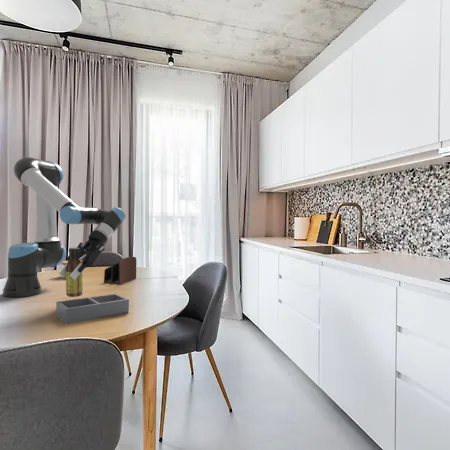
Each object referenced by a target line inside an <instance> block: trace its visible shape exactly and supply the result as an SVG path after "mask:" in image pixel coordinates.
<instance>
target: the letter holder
mask: <svg viewBox="0 0 450 450" xmlns="http://www.w3.org/2000/svg"><path fill="white" fill-rule="evenodd" d="M135 279H137V257H136V256H127V257H124V258H122V259H120V260H119V261H118V262H116V263H114V264H113V265H112V266H109V267H106V268H105V269H104V274H103V284H110V285H122V284H124V283H127V282H130V281H133V280H135Z"/></svg>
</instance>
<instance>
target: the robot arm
mask: <svg viewBox="0 0 450 450" xmlns="http://www.w3.org/2000/svg"><path fill="white" fill-rule="evenodd" d="M13 174H14V176H15V178H16V179H17V180H18V181H19V182H20V183H22V184H23V185H24V186H26V187H29V188H31V189H32V190H33V191H34V192H35V194H36V195H35V196H36V197H35V198H36V199H35V201H36V223H37V224H36V227H37V237H36V239H35V240H34V242H22V243H20V242H19V243H16V244H12V245H10V246H9V248H8V253H7V279H6V282H5V285H4V287H3V289H2V296H3V297H7V298H21V297H22V298H23V297H31V296H35V295H38V294H41V293H42V286H41V284H40V283H41V282H40V281H39V277H38V270H40V269H47V268H54V267H57V266H60V265H62V262H63V261H65V260H66V261H69V255H68V256H67V250H66V248H65V246H64V244H62V243H61V239H60V238H59V237H58V231H57V212H58V213H59V218H60V220H61V222H63V223H64V224H66V225H67V224H68V225H97V226H96V227H95V228H94V229H93V230H92V231H91V232H90V234H89V235H88V240H87V241H85V243H83V242H79V243H78V246H77V247H76V248H80V251H79V259H80V261H81V262H82V263H83V264H82V263H80V264H79V265H78V266H77V267H76V268H75V270H74V271H73V272H72V273H71V275H70V277H71V278H72V279H73V280H75V279H76V278H77V277H78V275H79V274H80V273H81V272H82V271H83V272H84V270H85V269H86V268H87V267H92V266H93V264H94V263H95V262H96V260H97V259H98V258H99V256H100V255H101V254H102V252H103V251H104V250H105V247H104V245H106V243H107V242H108V240H109V239H110V238H111V237H112V235H113V234H114V233H115V232H116V230H117V229H118V228H119V227H120V226H121V225H122V224H123V222H124V221H125V219H126V214H125V211H124V210H123V209H122V208H120V207H117V206H116V207H115V206H114V207H112V208H111V209H110V210H108V209H107V210H105V209H102V208H98V207H95V206H85V207H82V206H79V205H78V204H77V203H75V202H74V201H73V200H72V199H71V198H69V197H68V196H67V195H66V194H65V193H63V192H62V191H61V190H60V188H59V185H60V184H61V183H62V181H63V179H64V172H63V170H62V168H61V166H60V165H59V164H57V163H55V162H52V161H51V160H50V161H49V160H43V159H39V158H34V157H30V156H29V157H22V158H19V159H18V160H17V161H16V163H15V164H14V166H13ZM82 257H83V258H84V259H83V260H81V258H82ZM66 267H67V264H66V265H65V266H64V268H63V269H62V268H61V269H60V271H59V272H58V275H59V276H60V277H61V278H66Z"/></svg>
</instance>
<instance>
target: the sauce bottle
mask: <svg viewBox="0 0 450 450" xmlns="http://www.w3.org/2000/svg"><path fill="white" fill-rule="evenodd" d="M79 251H80V248H77V247H69V248H68V252H69V255H68V256H69V261H68V260H67V261H68V263H67V267H66V276H65V293H66V294H65V295H66V297H70V298H76V297H81V296H82V295H83V289H84V286H83V284H84V283H83V277H84V276H83V273H84V270H83V271H82V272H81V273H80V274H79V275H78V277H77V278H76V279H75V280H73V279H72V278H71V277H70V275H71V273H72V272H73V271H74V270H75V268H76V267H77V266H78V265H79V264H80V263H81V261H82V260H81V258H80V259H79Z"/></svg>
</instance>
